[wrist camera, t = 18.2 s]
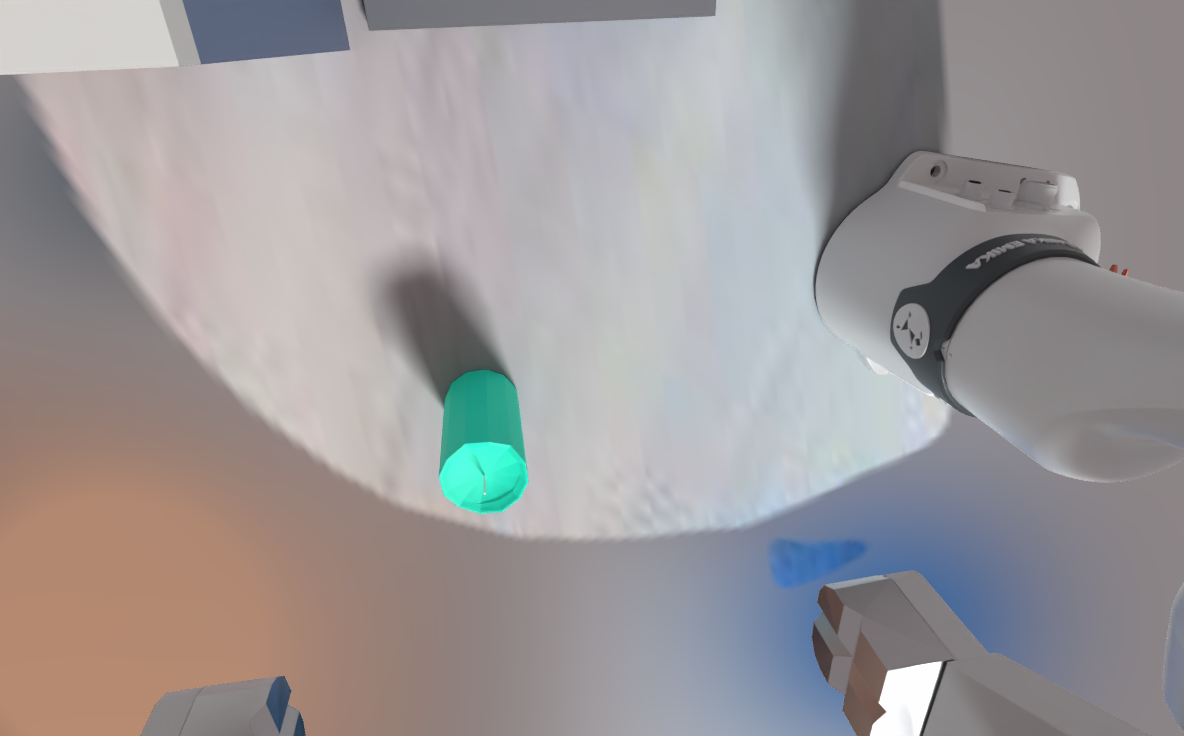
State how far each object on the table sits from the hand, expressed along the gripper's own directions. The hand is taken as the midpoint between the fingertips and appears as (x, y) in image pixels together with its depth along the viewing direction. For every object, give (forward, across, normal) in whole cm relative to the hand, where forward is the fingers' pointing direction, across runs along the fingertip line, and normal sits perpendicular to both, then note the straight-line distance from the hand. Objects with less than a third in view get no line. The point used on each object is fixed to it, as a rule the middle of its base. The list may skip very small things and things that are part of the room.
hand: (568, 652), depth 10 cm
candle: (+39, +3, +18) cm, 43 cm away
